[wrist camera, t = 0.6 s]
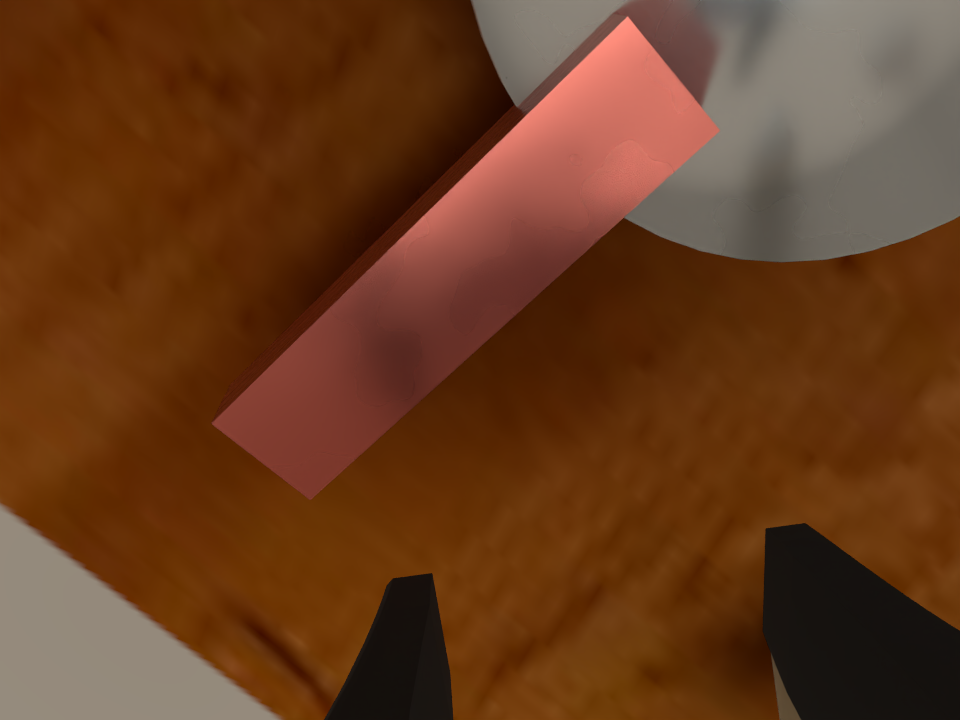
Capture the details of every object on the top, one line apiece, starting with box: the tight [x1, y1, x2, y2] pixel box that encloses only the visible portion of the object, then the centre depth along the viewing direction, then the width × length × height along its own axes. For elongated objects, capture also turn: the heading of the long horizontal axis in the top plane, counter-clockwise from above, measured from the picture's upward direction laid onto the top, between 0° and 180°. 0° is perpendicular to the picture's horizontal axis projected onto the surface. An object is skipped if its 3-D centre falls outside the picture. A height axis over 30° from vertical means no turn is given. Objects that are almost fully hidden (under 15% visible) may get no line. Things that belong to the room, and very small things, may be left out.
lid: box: [211, 0, 960, 500], centre depth 14 cm, size 20×13×2 cm, turn 134°
